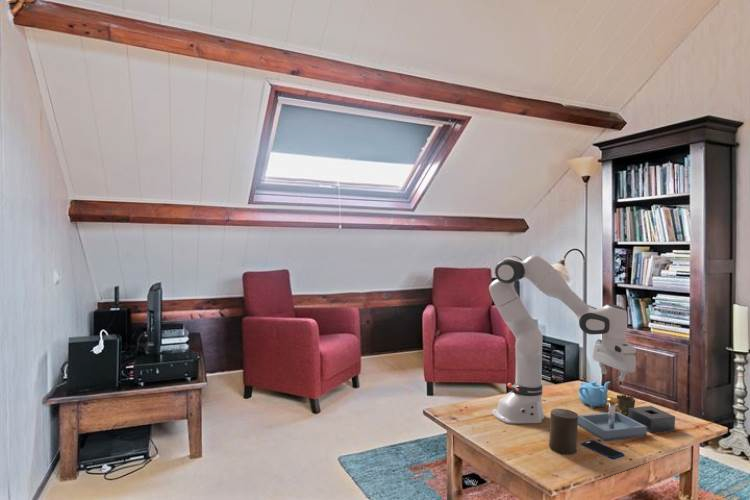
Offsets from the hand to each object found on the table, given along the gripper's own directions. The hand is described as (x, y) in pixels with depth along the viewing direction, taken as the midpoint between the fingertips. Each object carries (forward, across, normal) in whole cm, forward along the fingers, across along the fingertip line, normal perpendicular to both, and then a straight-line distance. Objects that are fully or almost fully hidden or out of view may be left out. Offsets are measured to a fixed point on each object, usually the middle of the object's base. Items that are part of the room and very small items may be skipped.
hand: (612, 377), depth 193 cm
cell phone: (+23, +14, -15) cm, 31 cm away
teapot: (+22, -26, +15) cm, 38 cm away
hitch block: (+22, 0, +21) cm, 30 cm away
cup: (+22, -12, +20) cm, 32 cm away
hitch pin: (+21, 0, +1) cm, 21 cm away
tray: (+22, 0, +1) cm, 22 cm away
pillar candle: (+23, +10, -29) cm, 39 cm away
